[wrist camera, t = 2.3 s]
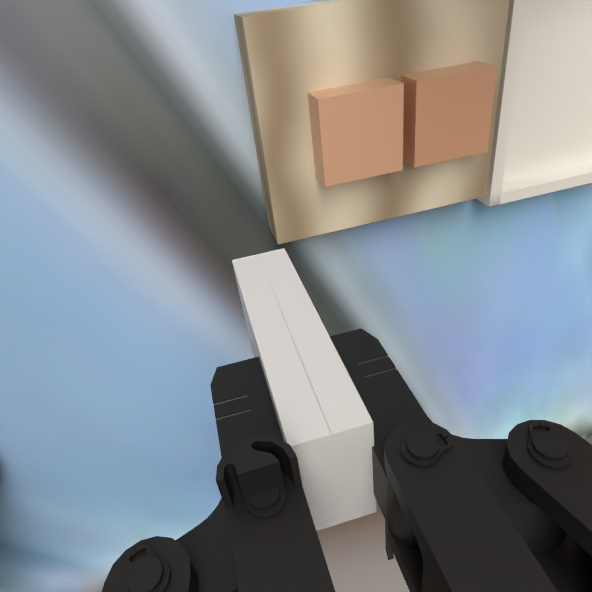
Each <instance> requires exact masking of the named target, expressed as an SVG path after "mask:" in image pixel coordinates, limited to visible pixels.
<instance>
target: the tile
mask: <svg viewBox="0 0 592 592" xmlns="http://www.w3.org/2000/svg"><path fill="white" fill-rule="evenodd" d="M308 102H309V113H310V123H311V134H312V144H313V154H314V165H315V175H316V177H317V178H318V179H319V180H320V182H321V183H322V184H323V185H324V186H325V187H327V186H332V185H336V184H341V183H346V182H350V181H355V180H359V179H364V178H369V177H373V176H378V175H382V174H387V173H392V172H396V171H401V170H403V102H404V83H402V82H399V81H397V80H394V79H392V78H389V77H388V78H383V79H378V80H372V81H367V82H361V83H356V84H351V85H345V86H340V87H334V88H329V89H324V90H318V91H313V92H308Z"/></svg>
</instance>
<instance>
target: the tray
mask: <svg viewBox="0 0 592 592" xmlns="http://www.w3.org/2000/svg"><path fill="white" fill-rule="evenodd" d="M589 183H592V0H510V1H509V9H508V18H507V26H506V35H505V43H504V52H503V60H502V69H501V77H500V86H499V94H498V102H497V111H496V119H495V128H494V136H493V145H492V153H491V162H490V170H489V179H488V187H487V196H485V197H481V198H476V199H477V200H479V201H480V202H482V203H484V204H485V205H487V206H488V207H491V206H495V205H500V204H504V203H508V202H512V201H516V200H521V199H525V198H529V197H533V196H538V195H542V194H546V193H550V192H555V191H559V190H563V189H567V188H572V187H576V186H580V185H584V184H589Z"/></svg>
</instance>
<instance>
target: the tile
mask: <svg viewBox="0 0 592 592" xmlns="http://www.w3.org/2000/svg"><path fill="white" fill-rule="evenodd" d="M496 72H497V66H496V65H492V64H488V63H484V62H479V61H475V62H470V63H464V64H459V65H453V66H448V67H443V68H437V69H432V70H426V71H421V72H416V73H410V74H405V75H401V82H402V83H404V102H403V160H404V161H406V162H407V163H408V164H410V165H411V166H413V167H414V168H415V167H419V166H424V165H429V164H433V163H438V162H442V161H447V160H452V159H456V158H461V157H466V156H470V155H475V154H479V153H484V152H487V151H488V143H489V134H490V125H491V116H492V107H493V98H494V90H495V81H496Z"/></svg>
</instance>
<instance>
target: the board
mask: <svg viewBox="0 0 592 592" xmlns="http://www.w3.org/2000/svg"><path fill="white" fill-rule="evenodd" d="M509 1H510V0H324V1H317V2H311V3H304V4H298V5H292V6H285V7H279V8H272V9H266V10H259V11H253V12H247V13H240V14H234V16H235V22H236V29H237V35H238V41H239V47H240V53H241V59H242V65H243V71H244V77H245V83H246V90H247V96H248V102H249V108H250V114H251V120H252V126H253V132H254V138H255V144H256V150H257V157H258V163H259V169H260V175H261V181H262V187H263V193H264V199H265V205H266V211H267V217H268V224H269V228H270V230H271V232H272V234H273V236H274V238H275V240H276V242H277V244H282V243H287V242H291V241H295V240H300V239H304V238H308V237H313V236H317V235H321V234H325V233H330V232H334V231H338V230H343V229H347V228H351V227H356V226H360V225H364V224H369V223H373V222H377V221H382V220H386V219H390V218H394V217H399V216H403V215H407V214H412V213H416V212H420V211H425V210H429V209H433V208H438V207H442V206H446V205H451V204H455V203H459V202H464V201H468V200H472V199H476V198H481V197H485V196H487V187H488V179H489V170H490V162H491V153H492V145H493V136H494V128H495V119H496V111H497V102H498V94H499V86H500V77H501V69H502V60H503V52H504V43H505V35H506V26H507V18H508V9H509ZM475 61H479V62H484V63H488V64H492V65H496V66H497V72H496V81H495V90H494V98H493V107H492V116H491V125H490V134H489V143H488V151H487V152H484V153H479V154H475V155H470V156H466V157H461V158H456V159H452V160H447V161H442V162H438V163H433V164H429V165H424V166H419V167H415V168H414V167H413V166H411V165H410V164H408V163H407V162H406V161H404V160H403V170H401V171H396V172H392V173H387V174H382V175H378V176H373V177H369V178H364V179H359V180H355V181H350V182H346V183H341V184H336V185H332V186H327V187H325V186H324V185H323V184H322V183H321V182H320V180H319V179H318V178H317V177H316V175H315V165H314V154H313V144H312V134H311V123H310V113H309V102H308V92H313V91H318V90H324V89H329V88H334V87H340V86H345V85H351V84H356V83H361V82H367V81H372V80H378V79H383V78H388V77H389V78H392V79H394V80H397V81H399V82H401V75H405V74H410V73H416V72H421V71H426V70H432V69H437V68H443V67H448V66H453V65H459V64H464V63H470V62H475Z"/></svg>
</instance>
